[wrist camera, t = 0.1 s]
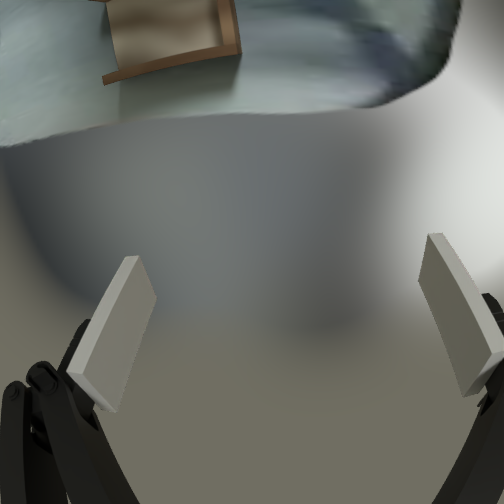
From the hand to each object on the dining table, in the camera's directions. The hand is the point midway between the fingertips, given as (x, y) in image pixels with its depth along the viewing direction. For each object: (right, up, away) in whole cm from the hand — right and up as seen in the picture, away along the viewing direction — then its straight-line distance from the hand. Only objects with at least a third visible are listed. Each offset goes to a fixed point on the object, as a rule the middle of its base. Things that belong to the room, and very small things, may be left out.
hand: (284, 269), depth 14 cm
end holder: (-11, +28, +15) cm, 33 cm away
